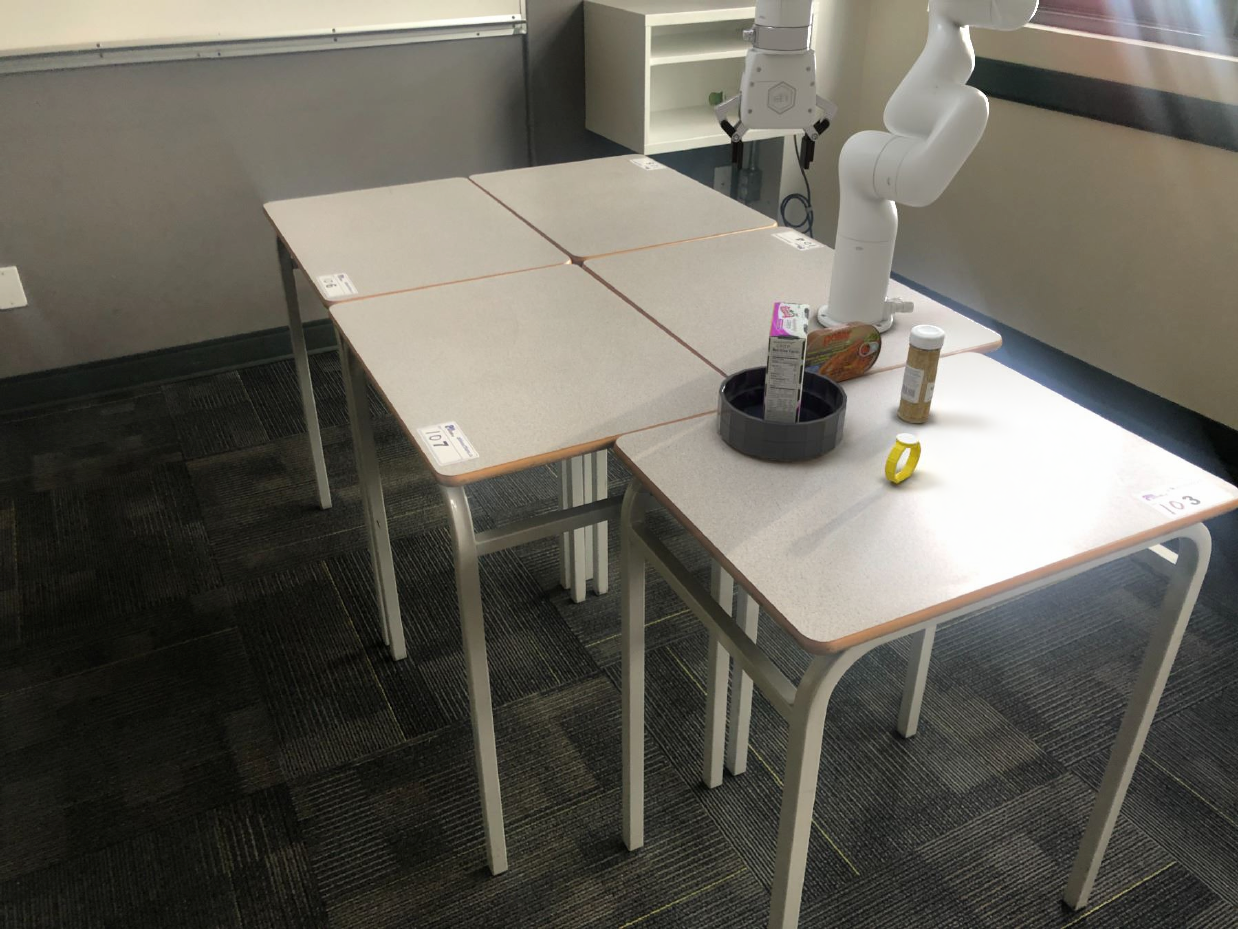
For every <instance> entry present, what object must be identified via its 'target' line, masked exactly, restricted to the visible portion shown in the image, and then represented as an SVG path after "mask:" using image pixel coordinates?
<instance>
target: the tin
mask: <svg viewBox="0 0 1238 929" xmlns="http://www.w3.org/2000/svg"><path fill="white" fill-rule="evenodd" d="M882 344H883V341H882V335H881V333H879V331H878V330H877V328H875V327H874V326H872V325H869V324H866V323H864V322H860V321H853V322H849V323H845V324H841V325H837V326H833V327H829V328H827V327H825V328H821V329H817V330H813V331H812V332H811V331H810V332H809V333H807V343H806V353H805V363H804V369H805V370H809V371H813V372H817V373H819V374H821V375H824V376H826V377H828V378H830V379H832V380H834V381H835V382H836V383H839V382H842V381H845V380H846V381H847V380H849V379H853V378H857V377H860V376H862V375H863V376H864V374H866V373H867V372H868V371H870V370H871V369H872V368H873V367H874V365H875V364H876V363H877V361H878V359H879V357H880V354H881V350H882Z"/></svg>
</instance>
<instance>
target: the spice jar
mask: <svg viewBox="0 0 1238 929" xmlns="http://www.w3.org/2000/svg"><path fill="white" fill-rule="evenodd" d="M945 337H946V332H945V330H944V329H942V328H941V327H938V326H935V325H931V324H918V325H915V326H913V327H912V328H911V329H910V332H909V336H908V345H909V347H908V351H907V357H906V361H905V365H904V372H903V378H902V383H901V389H900V400H899V404H898V405H899V406H898V409H897V412H896V415H897V416H898V418H899V419H900V420H902V421H905V422H906V423H910V424H922V423H926V422H928V421H929V419H930V416H931V414H930V411H931V404H932V400H933V397H934V392H935V384H936V379H937V376H938V366H939V362H940V355H941V351H942V348H943V347H944V343H945V339H946V338H945Z"/></svg>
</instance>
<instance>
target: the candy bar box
mask: <svg viewBox="0 0 1238 929" xmlns="http://www.w3.org/2000/svg"><path fill="white" fill-rule="evenodd" d="M809 318H810V304H805V303H794V302H792V303H791V302H784V301H779V302H774V304H773V308H772V316H771V320H770V321H771V322H770V328H769V334H768V346H767V357H766V366H767V368H766V381H765V393H764V407H763V419H764V420H767V421H776V422H784V423H794V422H799V412H800V403H801V393H802V383H803V374H804V363H805V353H806V343H807V335H808V334H809V333H808V331H809Z"/></svg>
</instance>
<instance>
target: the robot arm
mask: <svg viewBox="0 0 1238 929" xmlns="http://www.w3.org/2000/svg"><path fill="white" fill-rule="evenodd" d="M814 4H815V0H755V8H754V9H755V10H754V22H753V23H752V26H751V28H748V29H743V30H742V41H745V42H746V41H748V42H750V43H751V45H752V47H749V48H748V49H747V51H746V55H745V59H744V63H743V68H742V75H741V81H740V87H739V93H736V94H735V95H733V96H731V97H730V98H727V99H725V100H723V101H722V102H720V103H718V104H716V105H715V106H713V108H712V111H713V113H714V116H715V118H716V120H717V122H718V124H719V127H720V128H721V129H722V130H723V132H724V133H725V134H726V135H727V136H728V137H729V138H730V148H729V150H730V151H729V162H730V164H732V165H733V168H734V169H735V171H737V172H740V171H742V170H743V163H744V162H743V159H744V148H745V147H744V146H745V143H744V141H743V137H744V136H745V135H746V133H747V132H748V131H749V130H803V132H804V135H803V136H802V137H801V143H800V153H799V165H800V167H802V169H803V170H805V171H807V170H809V169H810V165H811V164H810V163H813V162H814V158H815V157H814V156H815V150H816V149H815V148H816V141H818V139H819V138H820V136H821V135H822V134H823V133H825V132H826V130H827V129H828V128H829V127H830V126H831V123H832V121H833V120H834V119H835V117H836V115H837V113H838V111H839V108H838V106H837V105H836V104H834V103H833V102H831V101H829V100H827V99H826V98H823V97H822V96H820V95H818V94H817V57H816V51H815V50H814V49H812V48H810V44H811V35H812V34H811V33H812V22H813V12H814ZM1038 5H1039V0H928V25H927V26H928V28H927V29H928V30H927V39H926V43H925V46H924V48H923V50H922V52H921V53H920V55H919V57H918V58H917V59H916V61H915V63H914V64H913V65H912V67H911V68H910V69H909V71H908V72H907V74H905V76H904V78H903V79H902V80H901V82H900V83H899V84H898V86H897V87H896V89H895V91H894V92H893V94H891V96H890V98H889V100H888V101H887V102H886V103H887V104H886V105H885V108H884V111H883V117H882V120H883V124H884V126H885V128H886V129H887V130H888V131H889V132H887V131H883V130H873V129H872V130H871V129H867V130H862V131H859V132H856V133H854V134H852V135H851V136H850V137H849V138H848V139H847V140H846V141H845V142H844V144H843V146H842V147H841V151H840V153H839V158H838V168H837V169H838V170H837V171H838V182H839V209H838V210H839V211H838V220H837V230H836V237H835V244H834V252H833V260H832V261H833V262H832V270H831V277H830V285H829V286H830V287H829V293H828V294H829V295H828V300H827V301H828V303H826V304H823V305H822V306H820V308H819V309H818V311H817V321H818V322H819V323H820V325H822V326H824V327H825V328H829V327H833V326H837V325H841V324H845V323H849V322H853V321H860V322H864V323H866V324H869V325H872V326H874V327H875V328H877V330H878V331H879V333H880V334H881V333H884V332H886V331H888V330H889V329H890V328H891V327H892V325H893V320H894V319H893V315H895V314H896V313H900V314H911V313H913V312H914V309H915V306H914V301H912V300H911V301H910V300H909V301H908V300H907V301H903V300H902V297H889V296H888V292H889V291H888V289H889V285H890V284H889V283H890V278H891V270H892V265H893V259H894V252H895V246H896V239H897V234H898V228H899V226H898V225H899V218H898V217H899V216H898V211H897V206H896V204H895V203H897V204H901V205H904V206H909V207H913V208H923V207H927V206H929V205H931V204H933V203H934V202H935V201H936V200H937V199H939V197H940V196H941V195H942V194H943V192H944V191H946V188H948V186H949V184H950V183H951V182H952V181H953V179H954V178H955V176H956V175H957V174H958V172H959V170H960V169H961V168H962V166H963V165H964V163H965V162H966V160H967V159H968V158H969V156H970V155H971V154H972V152H973V151H974V150H975V148H976V147H977V145H978V143H979V141H980V140H981V138H982V136H983V134H984V132H985V129H986V127H987V123H988V119H989V112H990V111H989V110H990V108H989V102H988V98H987V97H986V95H985V94H984V92H982V91H981V90H980V89H978V88H976V87H974V86H972V85H967V82H968V80H969V79H970V77H971V75H972V73H973V71H974V68H975V53H974V48H973V45H972V40H971V38H970V29H969V27H972V28H978V29H986V30H987V29H988V30H993V31H994V30H995V31H1001V32H1010V31H1011V32H1012V31H1017V30H1019V29H1021V28H1023V27H1024V26H1026V25H1027V24H1028V23H1029V22H1030V21H1031V19H1032V18H1033V17H1034V15H1035V13H1036V11H1037V8H1038ZM816 107H818V108H820V109H821V110H823V114H822V116H821V117H820V118H819V119H818V120H817V121H816V122H815V117H816ZM736 108H737V117H738V120H737V121H736V123H734V124H733V125H732V124H731V123H730V121H729V120H728V117H727V114H728V112H730V111H732V110H734V109H736ZM814 122H815V123H814Z"/></svg>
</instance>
